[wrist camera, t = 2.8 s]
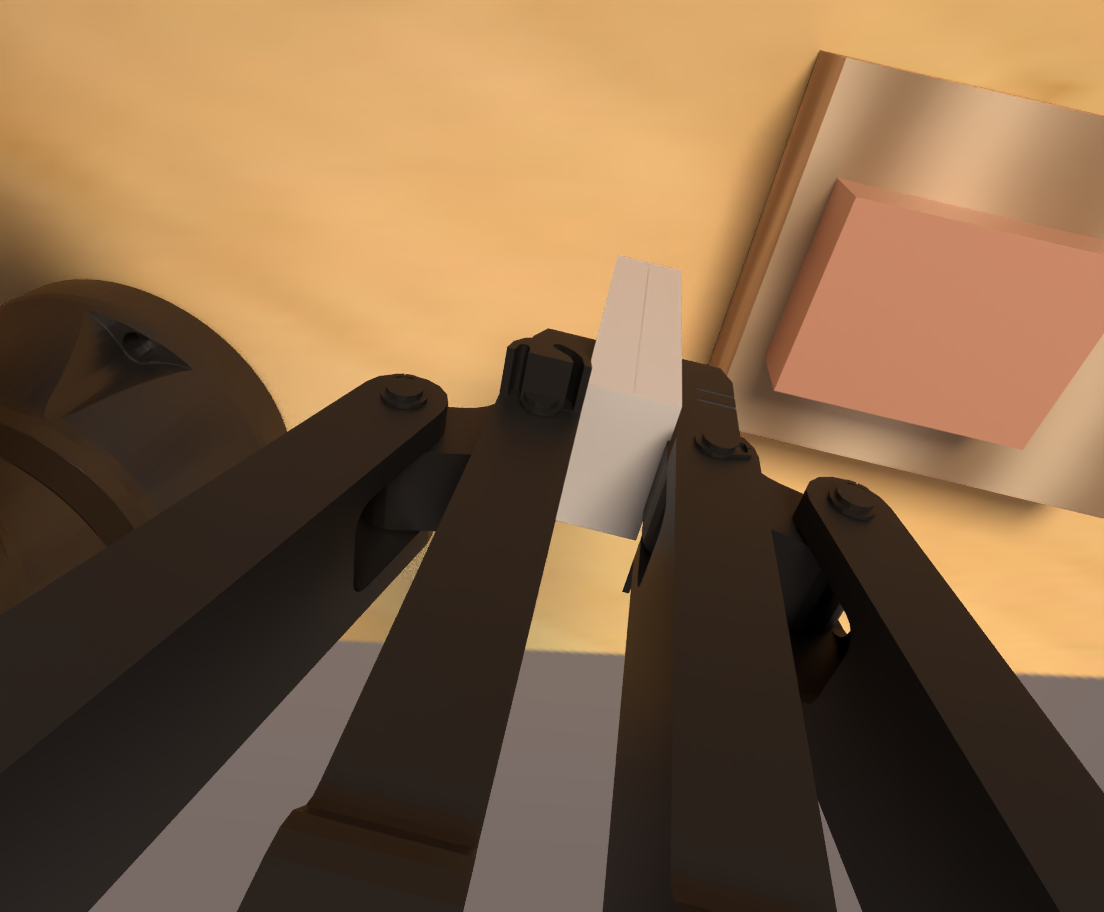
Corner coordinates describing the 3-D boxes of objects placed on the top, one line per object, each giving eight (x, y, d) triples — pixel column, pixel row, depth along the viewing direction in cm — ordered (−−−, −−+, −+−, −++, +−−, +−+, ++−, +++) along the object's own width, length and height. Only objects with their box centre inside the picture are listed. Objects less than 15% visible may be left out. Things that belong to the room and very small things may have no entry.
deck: (704, 376, 29) (708, 424, 26) (819, 50, 22) (846, 57, 19) (1080, 465, 29) (1134, 525, 25) (1310, 163, 22) (1425, 191, 19)
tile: (764, 357, 24) (774, 390, 22) (837, 177, 21) (856, 196, 18) (992, 411, 24) (1022, 450, 22) (1101, 239, 20) (1150, 266, 18)
